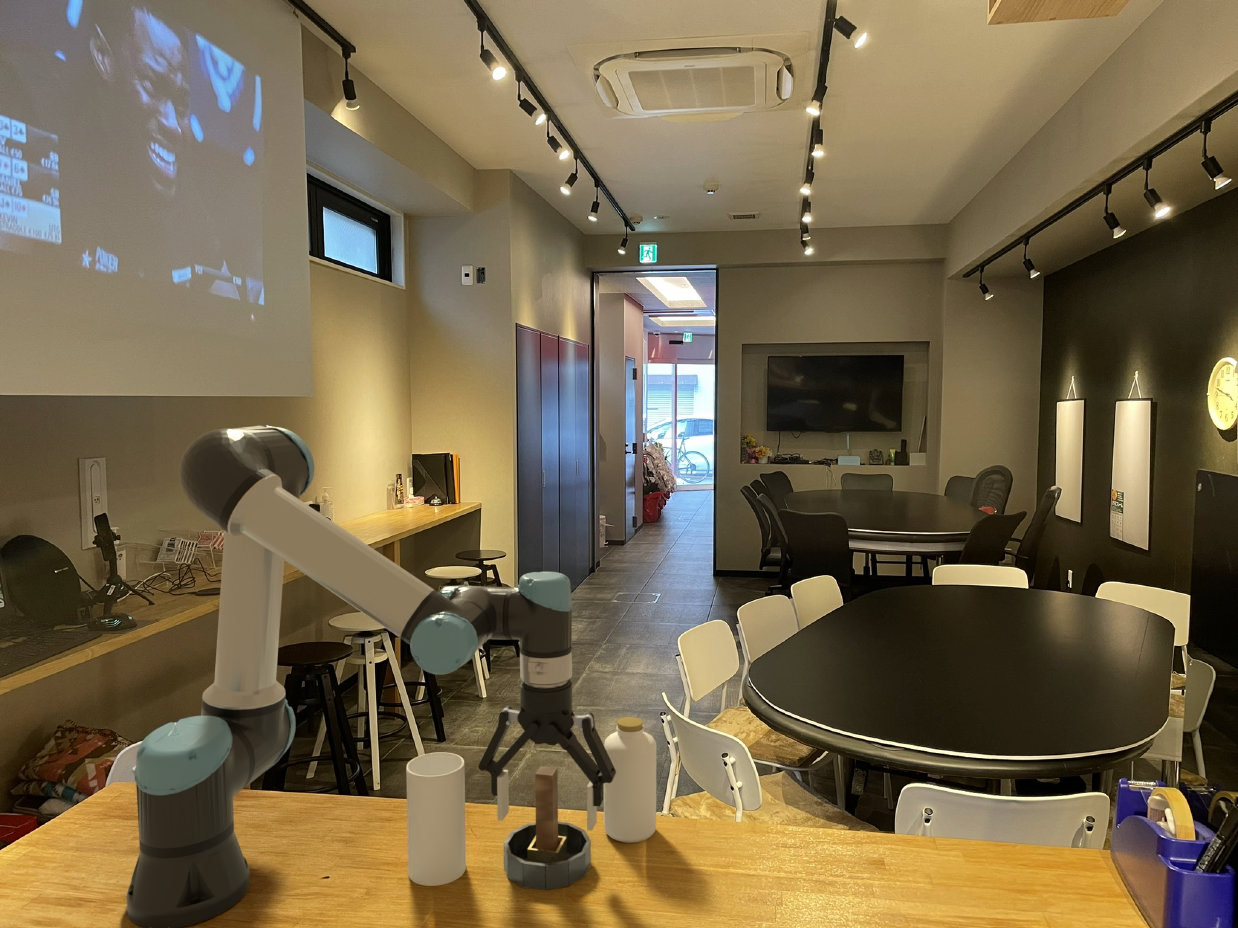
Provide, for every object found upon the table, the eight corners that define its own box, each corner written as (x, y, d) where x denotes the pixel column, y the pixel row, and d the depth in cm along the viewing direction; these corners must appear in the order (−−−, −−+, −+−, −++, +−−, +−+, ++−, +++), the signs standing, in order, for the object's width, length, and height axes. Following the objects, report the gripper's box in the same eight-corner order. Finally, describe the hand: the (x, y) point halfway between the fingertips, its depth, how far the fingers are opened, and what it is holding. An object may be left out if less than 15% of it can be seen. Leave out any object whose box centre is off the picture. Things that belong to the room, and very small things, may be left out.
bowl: (492, 883, 120) (492, 859, 120) (521, 838, 132) (520, 817, 132) (577, 893, 118) (577, 869, 117) (598, 847, 130) (598, 825, 129)
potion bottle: (665, 827, 136) (666, 718, 134) (638, 851, 129) (639, 736, 127) (621, 814, 140) (621, 708, 139) (593, 835, 133) (593, 724, 132)
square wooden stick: (536, 865, 124) (535, 773, 123) (541, 856, 127) (540, 766, 125) (553, 867, 123) (552, 775, 122) (558, 858, 126) (557, 767, 125)
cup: (452, 888, 119) (451, 778, 118) (398, 882, 121) (396, 773, 119) (474, 857, 127) (472, 754, 126) (423, 852, 129) (421, 749, 127)
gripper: (455, 682, 122) (457, 824, 123) (625, 694, 117) (624, 843, 118) (475, 665, 129) (476, 800, 131) (635, 677, 124) (635, 817, 126)
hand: (547, 821), depth 124 cm, fingers open, 13 cm apart
